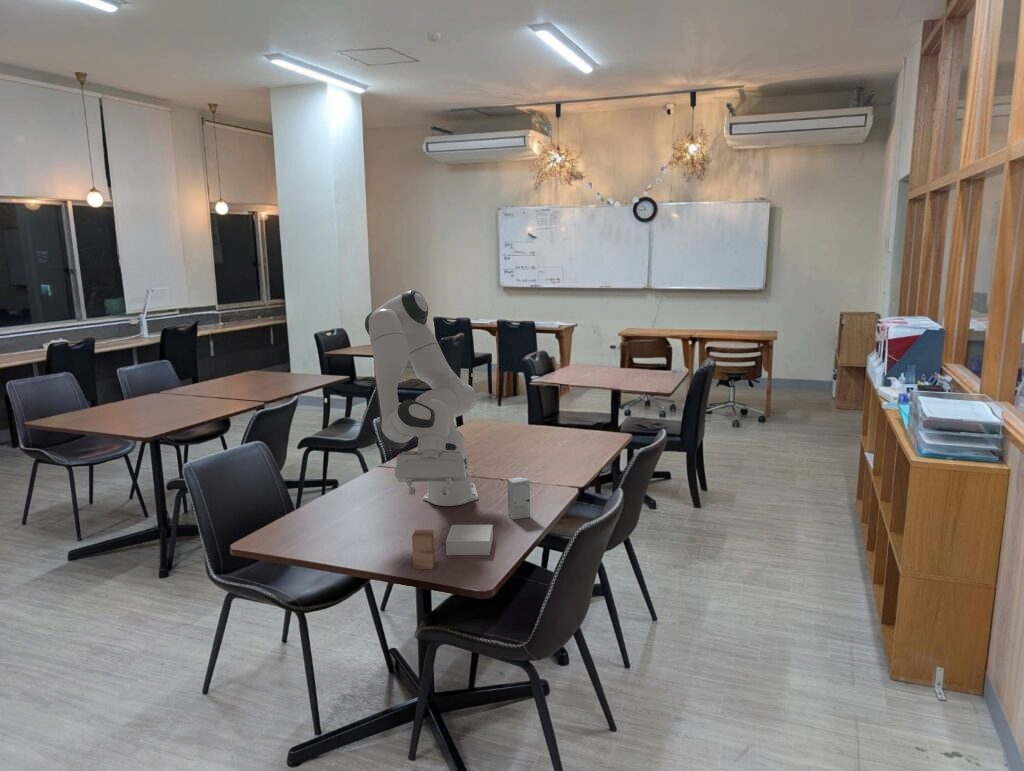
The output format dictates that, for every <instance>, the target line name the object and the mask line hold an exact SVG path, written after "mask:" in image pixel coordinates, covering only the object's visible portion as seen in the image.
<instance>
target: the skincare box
mask: <svg viewBox="0 0 1024 771" xmlns="http://www.w3.org/2000/svg"><path fill="white" fill-rule="evenodd" d="M506 480H507V509H508V510H507V516H508V517H509V518H511V519H512V520H518V519H525V518H529V517H530V516H531V498H530V497H531V496H530V495H531V494H530V491H531V489H530V486H531V485H530V484H531V483H530V479H529V478H527V477H525V476H520V477H513V478H507V479H506Z"/></svg>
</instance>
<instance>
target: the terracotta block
mask: <svg viewBox="0 0 1024 771" xmlns="http://www.w3.org/2000/svg"><path fill="white" fill-rule="evenodd" d="M411 544H412V559H413V560H412V561H413V563H412V564H413V570H433V569H434V566H435V564H434V563H436V544H435V530H434V529H415V530H414V531H413V534H412V536H411Z"/></svg>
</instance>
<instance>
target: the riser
mask: <svg viewBox="0 0 1024 771" xmlns="http://www.w3.org/2000/svg"><path fill="white" fill-rule="evenodd" d="M493 527H494V525H493V524H451V526H450V528H449V531H448V534H447V537H446V539H445V553H446V556H490V555H491V550H492V545H493V539H494V528H493Z"/></svg>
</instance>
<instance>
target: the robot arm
mask: <svg viewBox="0 0 1024 771" xmlns="http://www.w3.org/2000/svg"><path fill="white" fill-rule="evenodd" d="M428 316H429V307H428V303H427V301H426V299H425V297H424V296H423V295H422V294H421V293H420V292H419V291H417V290H415V289H412V290H407V291H404V292H402V294H399V295H397V296H394V297H392V298H391V299H389V300H387V301H386V302H384V303H383V304H382V305H381V306H379V307H377V308H376V309H375V310H372V311H371V312H370V313H369V314H368V315H367V316H366V317H365V320H364V329H365V331H366V332H367V334H368V336H369V341H370V347H371V351H372V355H373V356H372V357H373V363H374V364H373V365H374V373H375V375H374V376H375V390H376V397H377V398H376V399H377V404H378V413H379V423H378V426H377V427H378V428H377V434H378V438H379V440H380V441H381V442H382V443H383V444H384V445H385V446H387V447H388V448H390V449H393V450H394V449H395V450H400V449H403V448H405V447H406V446H407V445H408V443H410V441H411V440H412V438H414V437H417V439H418V442H417V450H413V451H405V450H403V451H402V452H400V453H398V454H397V456H396V461H395V463H396V466H395V469H394V470H395V471H394V477H395V479H396V481H397V482H399V483H406V484H407V487H408V494H409V495H408V496H416V488H415V487H414V486H413V487H412V485H413V483H424V482H425V483H427V493H426V494H424V495H423V497H422V500H423V501H426V502H429V503H431V504H433V505H434V506H435V505H437V506H442V507H448V506H449V507H451V506H452V507H453V506H460V505H464V504H467V503H469V502H473V501H477V500H479V494H478V491H477V489H476V488H477V487H476V484H475V483H473V482H472V475H471V474H470V472H469V470H468V461H467V458H466V450H465V449H466V448H465V447H466V446H465V436H464V434H463V433H462V432H461V431H459V430H457V428H456V425H455V421H454V420H455V418H458V417H461V416H463V415H466V414H467V413H469V412H471V411H472V410H473V409H474V408H475V407H476V404H477V403H478V402H477V400H478V396H477V393H476V390H475V389H474V387H473V386H472V385H470V384H468V383H466V382H465V381H463V379H461V378H460V377H458V375H457V374H456V373H455V371H454V370H453V369H452V368H451V366H450V365H449V363H448V362H447V359H446V357H445V356H444V354H443V351H442V349H441V347H440V344H439V342H438V339H437V338H436V336H435V335H434V334H435V333H434V332H433V331H432V329H431V328H430V326H429V324H428V323H427V320H428ZM408 362H410V364H411V367H412V370H413V371H414V374H415V376H416V377H417V379H419V380H420V381H422V382H424V383H426V384H427V385H428V386H429V387H430V390H427V391H425V392H423V393H422V394H420V395H419V396H417V397H416V398H415V400H414V399H405V400H403V401H402V402H399V395H398V388H399V387H398V386H399V381H400V379H401V377H402V375H403V372H404V370H405V369H406V367H407V365H408Z"/></svg>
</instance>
